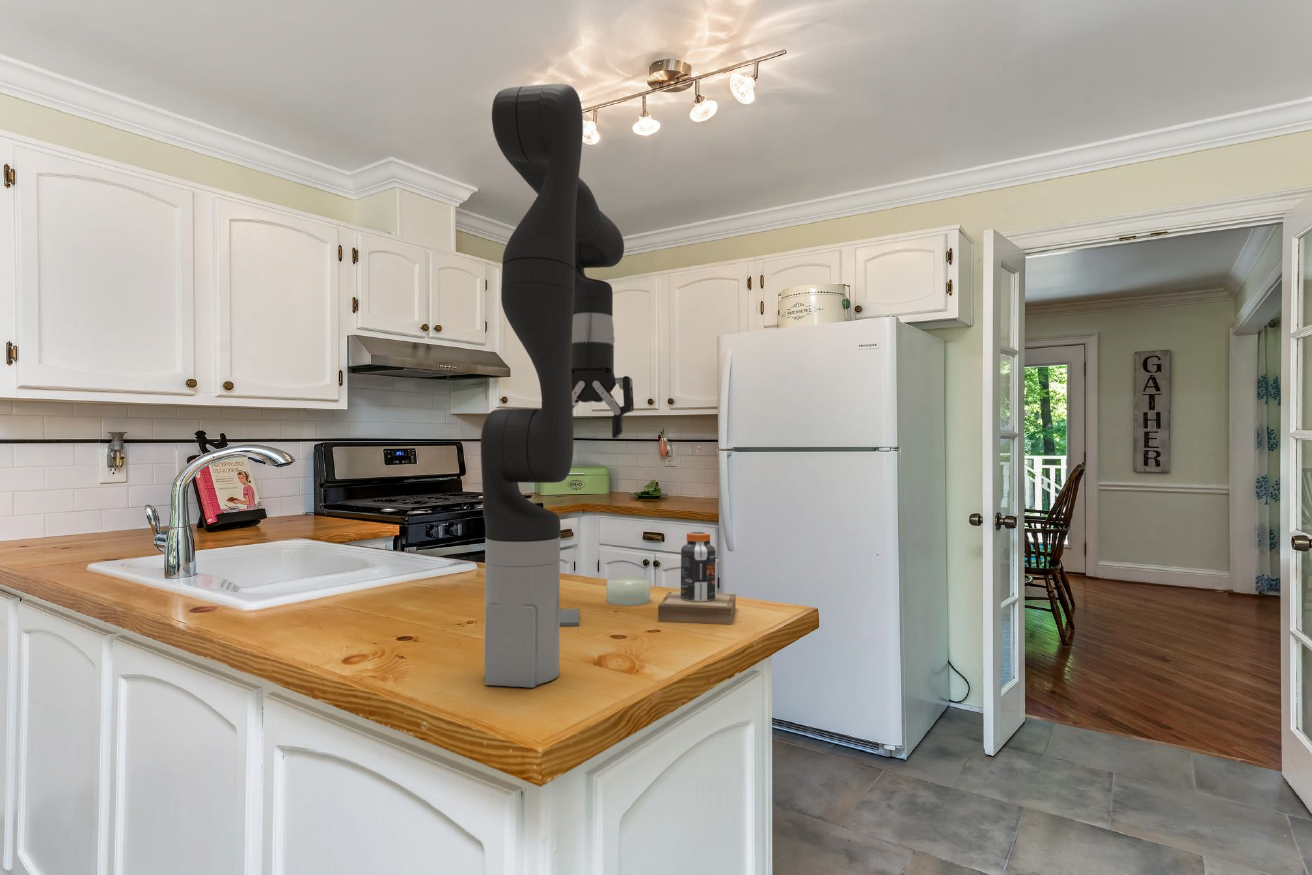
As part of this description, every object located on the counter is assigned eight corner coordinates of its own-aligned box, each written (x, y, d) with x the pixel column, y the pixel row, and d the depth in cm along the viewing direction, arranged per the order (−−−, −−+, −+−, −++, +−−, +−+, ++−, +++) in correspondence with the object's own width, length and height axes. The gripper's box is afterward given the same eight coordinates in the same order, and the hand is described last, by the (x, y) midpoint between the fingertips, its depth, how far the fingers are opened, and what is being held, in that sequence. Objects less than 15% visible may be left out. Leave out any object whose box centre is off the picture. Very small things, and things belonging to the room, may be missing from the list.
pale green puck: (645, 607, 134) (645, 584, 134) (602, 605, 135) (602, 583, 135) (653, 598, 142) (653, 577, 142) (612, 596, 143) (612, 575, 143)
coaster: (579, 625, 119) (579, 622, 119) (515, 627, 118) (515, 623, 118) (579, 612, 129) (579, 608, 129) (520, 613, 128) (520, 609, 128)
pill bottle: (713, 603, 124) (713, 534, 124) (677, 601, 125) (678, 533, 125) (717, 596, 130) (717, 531, 130) (683, 594, 131) (683, 530, 131)
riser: (731, 624, 120) (731, 607, 120) (658, 621, 122) (658, 604, 122) (735, 608, 132) (735, 593, 132) (668, 605, 134) (668, 590, 134)
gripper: (544, 340, 124) (544, 437, 124) (628, 338, 122) (627, 437, 122) (557, 346, 132) (557, 438, 131) (637, 345, 129) (636, 438, 129)
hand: (591, 437), depth 127 cm, fingers open, 8 cm apart
